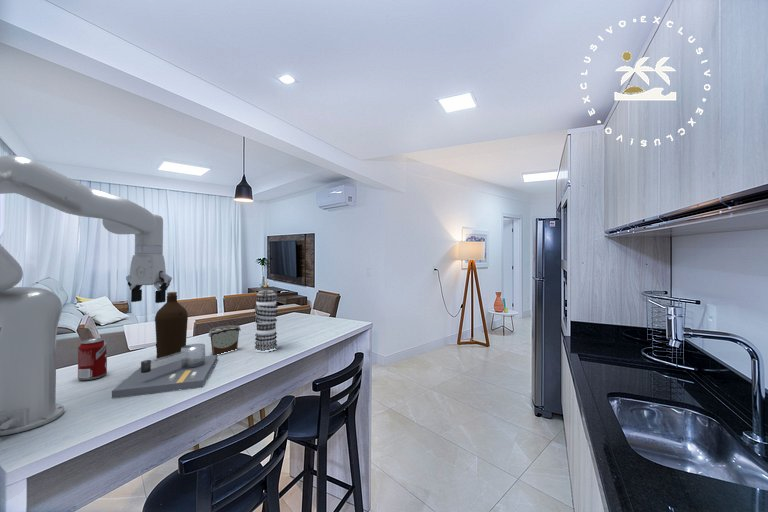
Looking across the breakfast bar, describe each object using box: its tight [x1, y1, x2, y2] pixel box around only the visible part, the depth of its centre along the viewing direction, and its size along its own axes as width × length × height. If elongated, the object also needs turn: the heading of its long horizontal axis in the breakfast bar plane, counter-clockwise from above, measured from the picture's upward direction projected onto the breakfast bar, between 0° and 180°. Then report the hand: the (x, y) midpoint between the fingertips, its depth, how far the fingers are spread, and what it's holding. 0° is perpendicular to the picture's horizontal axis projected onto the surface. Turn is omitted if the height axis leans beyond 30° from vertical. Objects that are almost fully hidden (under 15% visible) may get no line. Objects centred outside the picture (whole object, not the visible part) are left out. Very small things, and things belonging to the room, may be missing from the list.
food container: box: [208, 325, 241, 356], centre depth 125 cm, size 12×6×10 cm, turn 144°
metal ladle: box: [140, 343, 206, 373], centre depth 98 cm, size 20×7×6 cm, turn 160°
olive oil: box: [154, 291, 189, 359], centre depth 120 cm, size 11×11×25 cm
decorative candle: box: [254, 289, 279, 351], centre depth 128 cm, size 9×9×25 cm
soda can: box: [77, 337, 108, 381], centre depth 98 cm, size 7×7×12 cm
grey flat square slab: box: [111, 355, 218, 399], centre depth 99 cm, size 25×22×3 cm
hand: (148, 301), depth 102 cm, fingers open, 9 cm apart
